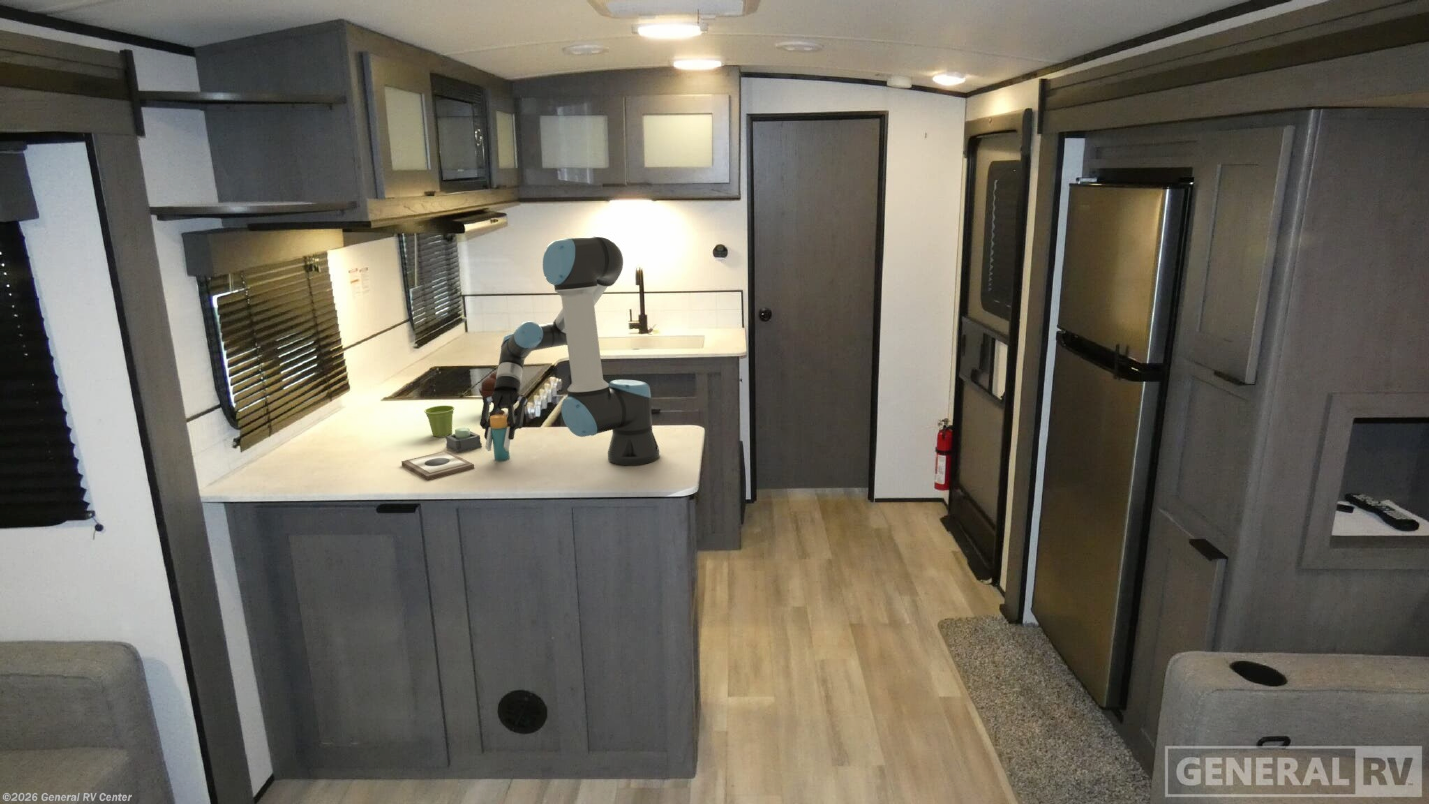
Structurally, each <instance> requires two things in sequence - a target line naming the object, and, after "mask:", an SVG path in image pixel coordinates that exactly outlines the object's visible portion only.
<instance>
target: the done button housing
mask: <svg viewBox="0 0 1429 804" xmlns="http://www.w3.org/2000/svg"><path fill="white" fill-rule="evenodd" d="M445 439H446V443H445V446H446V448H448V449H449V450H451V451H454V452H456V453H461V452H462V453H463V452H467V451H470V450H474V449H478V448H482V446H483V445H482V442H481V435H480V434H477V433H476V432H473V431H470V437H468V438H464V439H460V440H458V439H456V436H455V433H452V434H451V435H447V436H445Z"/></svg>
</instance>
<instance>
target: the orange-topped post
mask: <svg viewBox="0 0 1429 804" xmlns="http://www.w3.org/2000/svg"><path fill="white" fill-rule="evenodd" d="M489 416H490V415H489ZM490 425H491V428H492V438H493V439H492V447H493V455H494V458H493V459H494V461H498V462H503V461H507V460H510V457H511V456H510V450H509V451H506V450H505V448H504V441H505V435H506V429H507V427H508V417H507V415H506V414H498V415H493V416H490Z"/></svg>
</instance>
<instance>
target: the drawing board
mask: <svg viewBox="0 0 1429 804" xmlns="http://www.w3.org/2000/svg"><path fill="white" fill-rule="evenodd" d="M400 463H401V466H402V467H404V468H406V469H408V470H409V471H410V472H413V473H415V475H418V476H420V477H422V478H423V479H425V480H427V481H429V480H434V479H436V478H437V479H438V478H441V477H445V476H448V475H453V474H456V473H461V472H465V471H467V470H472V469H474V468H475V465H474V463H473V462H470V461H468V460H467V459H465V458H463V457H460V456H459V455H457V454H454V453H452V452H450V451H449V450H443V451H438V452H435V453H431V454H426V455H422V456H418V457H414V458H410V459H406V460H405V459H404V460H401V462H400Z"/></svg>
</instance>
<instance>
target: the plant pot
mask: <svg viewBox="0 0 1429 804" xmlns="http://www.w3.org/2000/svg"><path fill="white" fill-rule="evenodd" d="M454 410H455V406H453V405H447V404H446V405H437V406H432V407H428V408H426V409H425V410H424V413H425V414H426V417H427V419H428V422H429V426H430V429H431V433H432V436H433V437H437V438H444V437H446V436H449V435H452V434H453V414H454Z"/></svg>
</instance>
